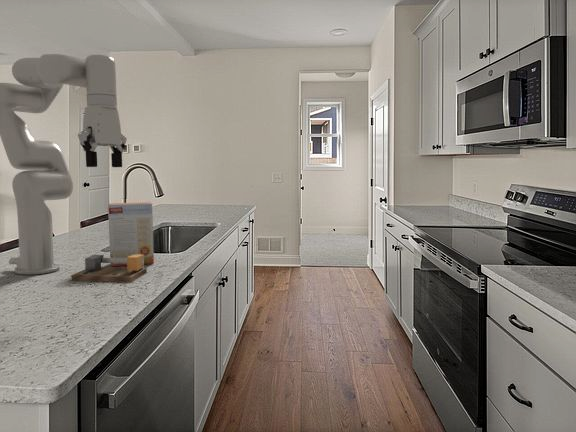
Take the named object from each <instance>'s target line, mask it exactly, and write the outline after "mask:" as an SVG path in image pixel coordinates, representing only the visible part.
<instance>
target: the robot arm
mask: <svg viewBox="0 0 576 432" xmlns="http://www.w3.org/2000/svg"><path fill="white" fill-rule="evenodd" d="M114 59H115V58H113V57H111V56H108V55H106V54H105V55H103V54H91V55H88V56H87V57H86V58H80V57H76V56H71V55H66V54H61V53H60V54H59V53H58V54H57V53H45V54H42V55H41V56H39V57H23V58H19V59H17V60H16V61H15V62H14V63H13V65H12V67H11V73H12V76H13V78H14V79H15V80H16V81H17V82H18V83H19V84H18V83H14V82H13V83H11V82H0V139H1V142H2V145H3V149H4V151H5V154H6V156H7V159H8V162H9V164H10V166H12V168H13V169H16V170H22V171H20V172H18V173H16V175H14V177H13V178H12V181H11V182H12V183H11V186H12V191H13V195H14V199H15V203H16V210H17V211H16V213H17V224H18V225H17V227H18V228H17V230H18V249H19V250H18V251H19V253H18V254H19V256H18V257H15V256H14V257H10V259H9V260H8V265H16V267H15V268H14V273H15V274H17V275H27V276H30V275H42V274H48V273H54V272H56V271H58V270H60V265H59V264H57V263H55V260H54V237H53V236H54V235H53V215H52V211H51V210H50V208H49V207H48V205H47V204H46V203H45V201H59V200H65V199H68V198H69V197H70V196H71V195H72V194H73V190H74V183H73V178H72V176H71V173H70V170H69V168H68V164H67V162H66V159H65V157H64V156H65V155H64V154H63V152H62V150H61V148H60V147H59V146H58V144H56V143H54V142H53V141H49V140H38V139H35V138H34V137H33V135H32V134H31V131H30V128H29V126H28V124H27V123H26V122H25V120H23V118H21V117H20V116H19V115H18V114H16V112H17V113H18V112H20V113H27V114H28V113H29V114H43V113H45V112H46V111H47V110H48V109H49V108H50V106H51V105H52V103H53V102H54V100H55V99H56V97H58V95H59V93H60V92H61V90H63V89H62V88H63V87H64V85H66V86H67V85H69V86H74V87H80V88H84V89H85V88H86V89H85V90H86V104H87V105H86V106H85V107H84V112H83V119H82V120H83V121H82V131H80V132H78V133H77V137H78V140H79V142H80V143H79V144H80V146H81V147H82V150H83V152H85V167H87V168H97V167H98V152H97V151H95V150H96V149H97V147H98V146H99V147H109V148H110V150H111V151H112V152H111V154H110V156H111V167H112V168H123V153H124V149H125V148H126V143H127V137H125V135H123V134H122V130H121V122H120V115H119V111H118V100H117V97H118V96H117V77H116V76H117V74H116V71H117V70H116V62H115V60H114Z"/></svg>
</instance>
